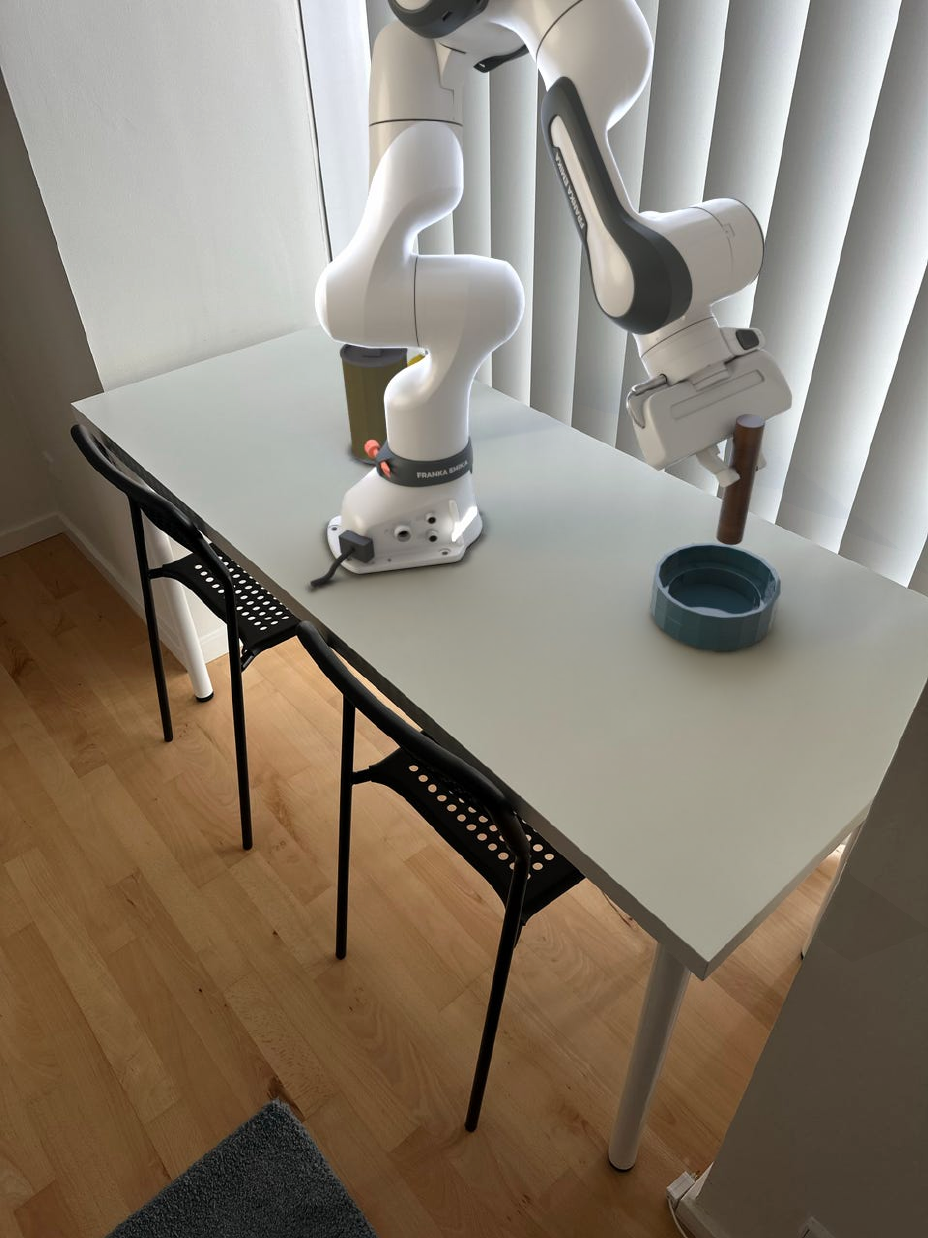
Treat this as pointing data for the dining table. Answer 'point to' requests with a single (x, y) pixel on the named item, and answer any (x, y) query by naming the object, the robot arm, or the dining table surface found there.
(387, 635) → the dining table surface
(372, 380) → the canister
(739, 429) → the stick
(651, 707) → the dining table surface
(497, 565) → the dining table surface
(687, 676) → the dining table surface
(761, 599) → the bowl
